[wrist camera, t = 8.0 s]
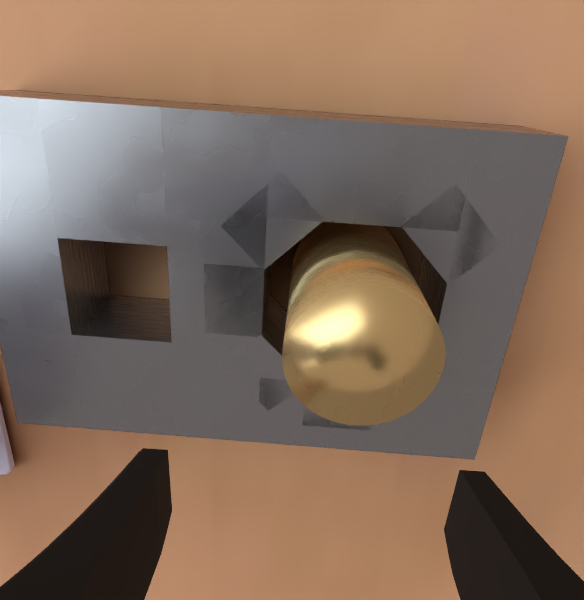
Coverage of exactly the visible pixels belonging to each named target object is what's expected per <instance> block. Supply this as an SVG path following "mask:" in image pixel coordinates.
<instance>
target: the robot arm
mask: <svg viewBox="0 0 584 600" xmlns="http://www.w3.org/2000/svg"><path fill="white" fill-rule="evenodd" d="M13 468H14V460H13V455H12V451H11V447H10V442H9V438H8V434H7V430H6V425H5V421H4V417H3V412H2V408H1V404H0V474H2V475H4V474H8V473H10V471H11V470H12V469H13ZM171 512H172V504H171V490H170V476H169V461H168V450H159V449H145V448H143V449H142V450H141V451H139V452H138V454H137V455H136V456H135V457H134V458H133V459H132V460H131V462H130V463H129V464H128V465H127V466H126V467H125V468H124V469H123V471H122V472H121V473H120V474H119V475H118V476H117V477H116V478H115V479H114V481H113V482H112V483H111V484H110V485H109V486H108V487H107V488H106V489H105V490H104V491H103V492H102V493H101V494H100V496H99V497H98V498H97V499H96V500H95V501H94V502H93V503H92V504H91V505H90V506H89V507H88V508H87V509H86V510H85V511H84V512H83V513H82V514H81V515H80V516H79V517H78V518H77V519H76V520H75V521H74V522H73V523H72V524H71V525H70V526H69V527H68V528H67V529H66V530H65V531H63V532H62V533H61V534H60V535H59V536H58V537H57V538H56V539H55V540H54V541H53V542H52V543H51V544H50V545H49V546H48V547H47V548H45V549H44V550H43V551H42V552H41V553H40V554H39V555H38V556H36V557H35V558H34V559H33V560H32V561H31V562H30V563H28V564H27V565H26V566H25V567H24V568H23V569H21V570H20V571H19V572H18V573H17V574H15V575H14V576H13V577H12V578H11V579H9V580H8V581H7V582H6V583H4V584H3V585H2V586H1V587H0V600H144V599H145V596H146V593H147V591H148V588H149V585H150V583H151V580H152V577H153V574H154V572H155V569H156V566H157V564H158V561H159V558H160V555H161V552H162V548H163V545H164V541H165V537H166V533H167V529H168V525H169V521H170V517H171ZM444 532H445V537H446V543H447V548H448V554H449V558H450V563H451V568H452V573H453V576H454V580H455V583H456V586H457V590H458V593H459V596H460V599H461V600H584V581H583V580H582V579H581V578H580V577H579V576H578V575H577V574H576V573H575V572H574V571H573V570H572V569H571V568H570V567H569V566H568V565H567V564H566V563H565V562H564V561H563V560H562V559H561V558H560V557H559V556H558V555H557V553H556V552H555V551H554V550H553V549H552V548H551V547H550V546H549V545H548V544H547V543H546V542H545V540H544V539H543V538H542V537H541V536H540V535H539V534H538V533H537V532H536V531H535V529H534V528H533V527H532V526H531V525H530V524H529V523H528V521H527V520H526V519H525V518H524V517H523V516H522V515H521V513H520V512H519V511H518V510H517V509H516V508H515V506H514V505H513V504H512V503H511V502H510V501H509V500H508V498H507V497H506V496H505V495H504V494H503V493H502V491H501V490H500V489H499V488H498V487H497V486H496V484H495V483H494V482H493V481H492V480H491V479H490V477H489V476H488V475H487V474H486V473H485V472H480V471H466V470H460V471H459V474H458V478H457V482H456V486H455V490H454V494H453V497H452V501H451V505H450V509H449V513H448V517H447V520H446V524H445V528H444Z"/></svg>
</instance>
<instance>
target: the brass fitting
mask: <svg viewBox="0 0 584 600" xmlns="http://www.w3.org/2000/svg"><path fill="white" fill-rule="evenodd" d="M445 355H446V353H445V343H444V338H443V335H442V332H441V330H440V327H439V325H438V323H437V321H436V319H435V317H434V315H433V313H432V311H431V309H430V308H429V306H428V304H427V302H426V300H425V298H424V296H423V294H422V292H421V290H420V288H419V286H418V284H417V282H416V280H415V278H414V276H413V274H412V272H411V270H410V268H409V266H408V264H407V262H406V260H405V258H404V257H403V255H402V253H401V251H400V249H399V247H398V245H397V243H396V241H395V240H394V238H393V237H392V235H391V234H390V233H389V232H388V231H387V230H386V229H385V228H384V227H382V226H377V225H363V224H350V223H336V222H321V223H320V224H319V225H318V226H317V227H315V228H314V229H313V230H312V231H311V232H309V233H308V234H307V235H306V236H305V237H304V238H303V239H302V240H301V242H300V244H299V245H298V247H297V250H296V252H295V255H294V260H293V267H292V275H291V284H290V292H289V300H288V309H287V317H286V325H285V334H284V342H283V351H282V366H283V371H284V375H285V378H286V381H287V383H288V385H289V387H290V389H291V391H292V392H293V394H294V395H295V396H296V397H297V399H298V400H299V401H300V402H301V403H302V404H303V405H304V406H305V407H307V408H308V409H309V410H311V411H312V412H314V413H315V414H317V415H319V416H321V417H323V418H325V419H328V420H330V421H334V422H337V423H341V424H346V425H356V426H366V425H375V424H381V423H385V422H389V421H392V420H395V419H397V418H399V417H402V416H404V415H406V414H407V413H409V412H411V411H412V410H414V409H415V408H416V407H418V406H419V405H420V404H422V403H423V402H424V401H425V400H426V399H427V398H428V397H429V395H430V394H431V393H432V391H433V390H434V389H435V387H436V385H437V384H438V382H439V380H440V377H441V375H442V372H443V368H444V364H445Z"/></svg>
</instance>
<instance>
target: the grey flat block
mask: <svg viewBox="0 0 584 600" xmlns="http://www.w3.org/2000/svg"><path fill="white" fill-rule="evenodd" d="M567 139H568V136H565V135H560V134H555V133H551V132H546V131H541V130H536V129H532V128H527V127H522V126H512V125H498V124H484V123H470V122H456V121H441V120H427V119H413V118H399V117H385V116H371V115H357V114H343V113H329V112H314V111H300V110H286V109H272V108H258V107H244V106H230V105H216V104H201V103H187V102H173V101H159V100H145V99H131V98H117V97H103V96H89V95H74V94H60V93H46V92H32V91H18V90H3V91H0V346H1V350H2V355H3V359H4V364H5V368H6V373H7V377H8V382H9V386H10V391H11V396H12V400H13V405H14V409H15V414H16V418H17V423H26V424H38V425H51V426H63V427H75V428H88V429H100V430H113V431H125V432H138V433H150V434H162V435H175V436H187V437H200V438H212V439H225V440H237V441H249V442H262V443H274V444H287V445H299V446H312V447H324V448H336V449H349V450H361V451H374V452H386V453H399V454H411V455H423V456H436V457H448V458H461V459H473V460H475V456H476V453H477V449H478V446H479V442H480V439H481V435H482V432H483V428H484V425H485V422H486V418H487V415H488V411H489V408H490V404H491V401H492V397H493V394H494V391H495V387H496V384H497V380H498V377H499V373H500V370H501V366H502V363H503V360H504V356H505V353H506V349H507V346H508V342H509V339H510V335H511V332H512V329H513V325H514V322H515V318H516V315H517V311H518V308H519V304H520V301H521V298H522V294H523V291H524V287H525V284H526V280H527V277H528V273H529V270H530V266H531V263H532V260H533V256H534V253H535V249H536V246H537V242H538V239H539V235H540V232H541V229H542V225H543V222H544V218H545V215H546V211H547V208H548V204H549V201H550V198H551V194H552V191H553V187H554V184H555V180H556V177H557V173H558V170H559V167H560V163H561V160H562V156H563V153H564V149H565V146H566V142H567ZM321 222H336V223H350V224H363V225H377V226H390V227H402V228H403V229H404V230H405V232H406V233H407V234H408V235H409V237H410V238H411V239H412V240H413V242H414V243H415V244H416V245H417V247H418V248H419V249H420V250H421V252H422V253H423V254H424V256H423V262H422V267H421V272H420V278H419V283H418V286H419V288H420V290H421V292H422V294H423V296H424V298H425V300H426V302H427V304H428V306H429V308H430V309H431V311H432V313H433V315H434V317H435V319H436V321H437V323H438V325H439V327H440V330H441V332H442V335H443V338H444V343H445V353H446V355H445V364H444V368H443V372H442V375H441V377H440V380H439V382H438V384H437V385H436V387H435V389H434V390H433V391H432V393H431V394H430V395H429V397H428V398H427V399H426V400H425V401H424V402H423V403H422V404H420V405H419V406H418V407H416V408H415V409H414V410H412V411H411V412H409V413H407V414H406V415H404V416H402V417H399V418H397V419H395V420H392V421H389V422H385V423H381V424H375V425H366V426H356V425H346V424H341V423H337V422H334V421H330V420H328V419H325V418H323V417H321V416H319V415H317V414H315V413H314V412H312V411H311V410H309V409H308V408H307V407H305V406H304V405H303V404H302V403H301V402H300V401H299V400H298V399H297V397H296V396H295V395H294V394H293V392H292V391H291V389H290V387H289V385H288V383H287V381H286V378H285V375H284V371H283V366H282V351H283V342H284V334H285V325H286V317H287V312H286V311H285V310H284V309H283V308H282V307H281V306H280V305H279V304H278V303H277V302H276V301H275V300H274V299H273V298H272V297H271V296H270V290H271V269H272V263H273V262H274V261H276V260H277V259H278V258H279V257H280V256H282V255H283V254H284V253H285V252H286V251H288V250H289V249H290V248H291V247H292V246H294V245H295V244H296V243H297V242H299V241H300V240H301V239H302V238H303V237H305V236H306V235H307V234H308V233H309V232H311V231H312V230H313V229H314V228H315V227H317V226H318V225H319V224H320V223H321ZM104 242H117V243H130V244H144V245H157V246H167V256H168V277H169V298H170V300H166V299H153V298H140V297H127V296H114V295H110V292H109V282H108V273H107V263H106V254H105V244H104Z"/></svg>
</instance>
